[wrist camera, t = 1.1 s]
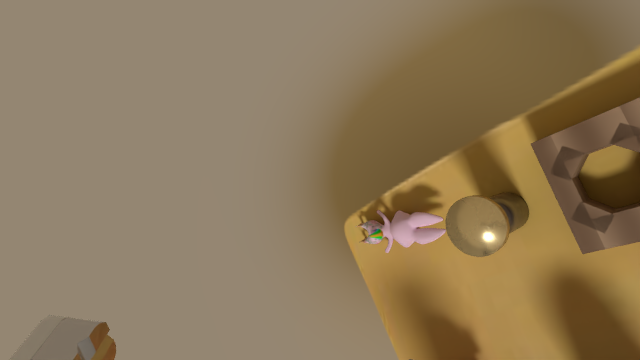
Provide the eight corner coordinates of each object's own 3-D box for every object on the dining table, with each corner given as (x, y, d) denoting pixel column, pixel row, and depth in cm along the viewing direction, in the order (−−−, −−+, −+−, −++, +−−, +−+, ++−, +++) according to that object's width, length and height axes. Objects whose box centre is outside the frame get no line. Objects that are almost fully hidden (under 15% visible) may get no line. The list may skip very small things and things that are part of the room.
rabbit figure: (376, 249, 62) (457, 246, 50) (347, 259, 58) (428, 258, 46) (367, 210, 62) (446, 198, 50) (338, 217, 58) (416, 205, 47)
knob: (523, 178, 45) (490, 187, 37) (546, 228, 43) (516, 248, 36) (474, 195, 49) (436, 207, 41) (494, 242, 47) (459, 262, 40)
